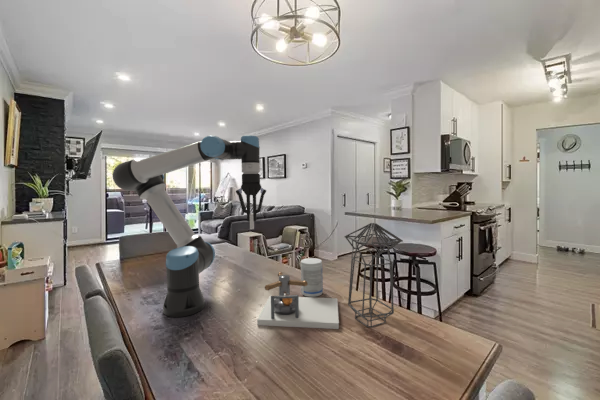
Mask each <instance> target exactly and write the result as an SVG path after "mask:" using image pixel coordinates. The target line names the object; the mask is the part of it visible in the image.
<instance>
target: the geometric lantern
mask: <svg viewBox="0 0 600 400" xmlns="http://www.w3.org/2000/svg"><path fill="white" fill-rule="evenodd" d="M359 231H360V232H359ZM357 232H359V233H358V234H357V235H353V234H356V233H357ZM388 235H389V236H388ZM374 236H375V238H376V241H374ZM390 236H391V237H393V238H391V237H390ZM343 238H345V239H346V241H348V243H349V245H350V246H351V247H352V250H351V251H352V253H351V261H350V263H351V264H350V272H349V273H350V274H349V275H350V276H349V286H348V287H349V288H348V299H347V305H348V307H350V309H351V310H352V311H353V312H354V314H355V315H354V319H355V321H358V322H359V323H360V324H362V325H363V326H366V327H367V328H373V327H377V326H380V325H383V324H386V323H387V321H386V318H388V317H390V316H392V315H393V314H394V313H395V310H394V261H393V260H392V259H391V252H390V250H391V249H393V248H394V247H396V246H397V245H399V244H401V243H403V241H404V240H403V239H401V238H400V237H399V236H397V235H395V234H393V233H392V232H391V231H389V230H387V229H386V228H384V227H383V226H381V225H379V224H378V223H376V222H369V223H368V224H366V225H364V226H362V227H360V228H358V229H356V230H354V231H351V232H350V233H348V234H346V235H344V237H343ZM362 238H364V241H361V239H362ZM350 240H351V241H350ZM370 240H371V242H370V243H368V242H369V241H370ZM380 241H381V242H380ZM354 243H355V246H354ZM359 245H360V246H359ZM367 245H368V246H369V245H370V246H371V245H372V247H373V248H374V249H375V250H376V251H377V252H376V254H375V255H374V254H373V253H372V251H371V250H370V249H369V247H368V246H367ZM376 245H378V246H379V248H380V249H379V248H378V247H377V246H376ZM364 246H365V247H366V249H367V250H368V251H369V253H370V255H363V254H362V252H361V248H363V247H364ZM386 247H387V248H386ZM385 248H386V249H385ZM384 249H385V250H384ZM354 250H355V251H354ZM357 252H358V254H359V255H360V256H356V254H357ZM386 252H387V255H388V259H387V258H385V257H382V256H380V255H381V254H382V253H386ZM353 255H354V256H353ZM367 257H371V260H370V261H369V263H367V262H366V260H365V259H364V258H367ZM358 258H359V259H360V258H361V259H362V261H363V262H362V261H360V260H357V259H358ZM375 258H376V263H375V264H374V259H375ZM379 258H380V259H381V260H385V261H388V262H389V263H388V262H387V263H386V262H385V263H379ZM356 262H358V263H360V264H361V265H364V269H363V270H364V271H363V290H362V292H363V293H362V299H357V300H353V301H352V292H353V284H354V283H353V281H354V274H355V273H354V272H355V263H356ZM385 265H388V266H389V279H390V280H389V281H390V282H389V283H390V302H391V306H389V305H387V304H386V303H384V302H382V301H380V300H379V266H385ZM367 266H368V267H369V294H368V295H369V298H365V294H366V293H365V292H366V276H367V275H366V274H367ZM375 266H376V291H375V292H376V296H375V297H376V298H373V297H372V283H373V269H374V267H375ZM365 301H369V302H368V303H369V307H367V308H365ZM372 301H375V302H374V304H372V303H373V302H372ZM359 302H362V308H361V309H359V310H358V309H356V308H355V307H354V306H353V304H352V303H359ZM377 302H378V303H380V304H381V305H382V306H385V307H387V308H388V309H390V311H388V312H385V313H383V312H381V311H379V310H377V309H375V306H376V304H377ZM372 305H373V306H372ZM365 310H368V312H364V311H365ZM374 311H375V312H377V313H378V314H376V313H374ZM368 314H369V315H368ZM358 317H361V318H362V319H364V320H366V322H367V323H366V324H365V323H364V322H363V321H362V320H361V319H359V318H358ZM376 317H377V318H376ZM368 318H370V319H368ZM372 318H374V319H372ZM377 320H378V321H379V320H382V321H383V322H380V323H377V324H373V325H372V323H373V321H377ZM369 322H370V326H369Z"/></svg>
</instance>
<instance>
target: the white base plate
mask: <svg viewBox="0 0 600 400" xmlns="http://www.w3.org/2000/svg"><path fill="white" fill-rule="evenodd" d="M281 298H295V313H293V314H289V315H281V314H277V313H275V310H274V300H275V299H281ZM338 303H339V302H338V298H337V297H334V298H332V297H307V296H300V295H299V294H295V295H294V294H290V295H286V293H285V294H284V296H279V295H269V296H268V298H267V300H266V301H265V304H264V306H263V308H262V310H261V312H260V314H259V316H258V317H257V319H256V320H257V323H256V325H257V326H266V327H267V326H270V327H285V328H287V327H291V328H309V329H310V328H311V329H328V330H330V329H331V330H333V329H334V330H339V328H340V326H339V325H340V320H339V319H340V318H339V304H338Z"/></svg>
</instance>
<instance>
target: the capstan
mask: <svg viewBox="0 0 600 400" xmlns="http://www.w3.org/2000/svg"><path fill="white" fill-rule="evenodd" d="M277 276H278V280H277V281H274V282H271V283H269V284H265V286H264V290H265V291H268V292H269V291H270V290H272V289H275V288H278V296H284V294H285V293H286V295H291V293H290V292H291V287H290V285H291V286H298V287H299V286H300V287H301V286H307V285H308V283H307V281H301V280H297V279H296V280H295V279H291V278H290V275H289V274H283V272H281V271H280V272H278V274H277ZM274 310H275V313H277V314H281V315H289V314H293V313H295V298H281V299H275V300H274Z"/></svg>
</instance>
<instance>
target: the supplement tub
mask: <svg viewBox="0 0 600 400" xmlns="http://www.w3.org/2000/svg"><path fill="white" fill-rule="evenodd" d="M323 279H324V278H323V260H322V259H320V258H314V257H309V258H303V259H301V260H300V281H307V283H308V285H307V286H300V293H301V295H303V297H313V298H318V297H319V296H320V297H321V295H322V294H323V292H324V289H323V287H324V286H323V283H324V282H323Z"/></svg>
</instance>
